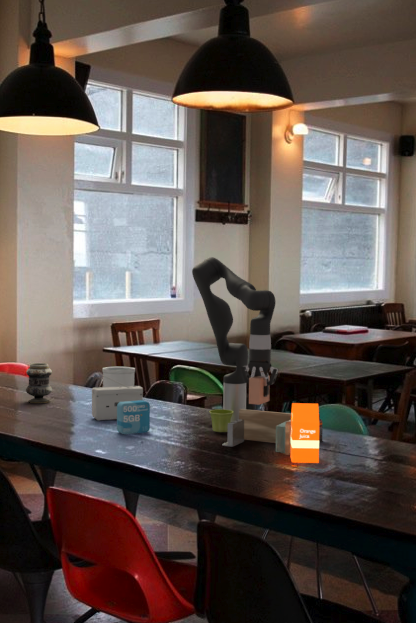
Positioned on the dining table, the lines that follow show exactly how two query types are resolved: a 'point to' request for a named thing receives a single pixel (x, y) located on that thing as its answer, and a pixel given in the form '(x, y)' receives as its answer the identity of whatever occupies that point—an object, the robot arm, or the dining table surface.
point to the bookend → (235, 433)
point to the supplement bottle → (320, 429)
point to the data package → (133, 417)
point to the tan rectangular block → (257, 390)
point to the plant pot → (220, 419)
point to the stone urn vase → (39, 382)
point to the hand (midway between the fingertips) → (259, 395)
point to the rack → (265, 426)
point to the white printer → (112, 399)
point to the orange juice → (304, 433)
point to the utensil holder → (118, 376)
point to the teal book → (280, 437)
